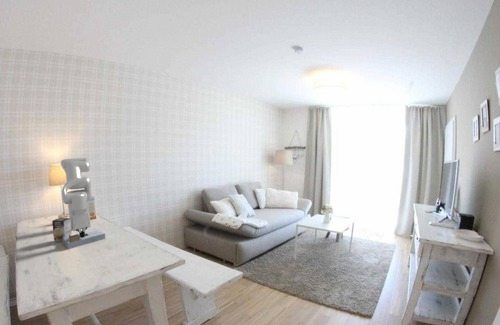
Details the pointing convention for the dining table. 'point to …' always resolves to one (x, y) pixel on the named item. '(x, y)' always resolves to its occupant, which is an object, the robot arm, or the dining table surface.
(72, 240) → the block
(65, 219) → the coffee box
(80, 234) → the robot arm
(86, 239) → the tray
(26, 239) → the dining table surface
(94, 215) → the white glue bottle
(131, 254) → the dining table surface
